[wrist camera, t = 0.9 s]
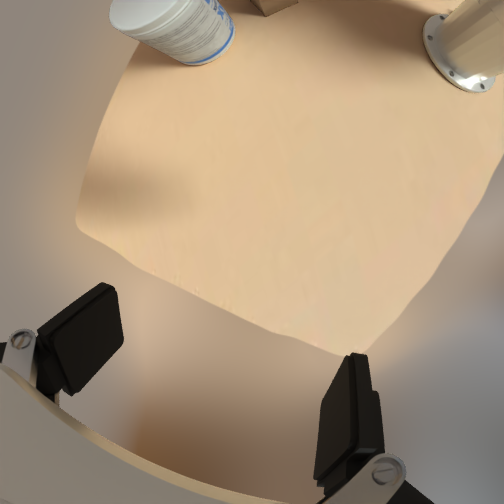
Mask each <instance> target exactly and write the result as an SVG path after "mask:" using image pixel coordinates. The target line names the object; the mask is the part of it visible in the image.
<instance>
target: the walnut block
mask: <svg viewBox="0 0 504 504" xmlns="http://www.w3.org/2000/svg"><path fill="white" fill-rule="evenodd" d="M250 1H251V2H252V3H253V4H254V5H255V6H256V7H257V8H258V9H259V10H260V11H261V12H262V13H263V14H264V15H265V16H266V17H267V16H269V15H271V14H274V13H276V12H278V11H280V10H282V9H284V8H287V7H289V6H291V5H293V4H296V3H298V0H250Z"/></svg>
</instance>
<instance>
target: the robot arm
mask: <svg viewBox="0 0 504 504" xmlns="http://www.w3.org/2000/svg"><path fill="white" fill-rule="evenodd" d="M423 41H424V45H425V48H426V50H427V53H428V55H429V56H430V58H431V60H432V62H433V63H434V64H435V66H436V67H437V69H438V70H439V71H440V72H441V73H442V74H443V75H444V76H445V77H446V78H447V79H448V80H449V81H450V82H451V83H453V84H454V85H455V86H457V87H459V88H460V89H462V90H465V91H467V92H470V93H482V92H486V91H487V90H489V89H490V88H491V87H492V86H493V84H494V82H495V78H496V76H497V75H500V74H503V73H504V0H464V1H463V2H462V3H461V4H460V5H459V6H458V7H457V8H456V9H455V10H454V11H453V12H452V13H451V14H450V15H447V14H437V15H434V16H432V17H430V18H429V19H428V20H427V22H426V23H425V25H424V28H423ZM37 332H38V336H37V337H36V336H35V333H34V332H33V331H32V330H29V329H20V330H17V331H15V332H14V333H13V334H11V336H10V337H9V339H8V341H7V342H3V343H0V504H290V503H284V502H278V501H273V500H268V499H263V498H257V497H253V496H249V495H245V494H241V493H237V492H233V491H229V490H225V489H222V488H218V487H215V486H212V485H208V484H205V483H202V482H199V481H197V480H194V479H191V478H188V477H185V476H183V475H180V474H178V473H175V472H173V471H170V470H168V469H165V468H163V467H160V466H158V465H156V464H154V463H151V462H150V461H147V460H145V459H143V458H141V457H139V456H137V455H135V454H133V453H131V452H129V451H127V450H125V449H124V448H122V447H120V446H118V445H116V444H114V443H113V442H111V441H109V440H108V439H106V438H104V437H102V436H101V435H99V434H97V433H96V432H94V431H93V430H91V429H90V428H88V427H87V426H85V425H84V424H82V423H81V422H79V421H77V420H76V419H75V418H73V417H72V416H70V415H69V414H68V413H66V412H65V411H64V410H62V409H61V408H60V407H59V391H60V390H61V389H63V391H64V392H66V393H67V394H68V395H70V396H73V395H74V394H75V393H78V392H80V391H81V389H82V388H83V387H84V386H85V385H86V384H87V383H88V382H89V380H91V378H92V377H93V376H94V375H95V374H96V373H97V372H98V371H99V370H100V369H101V367H102V366H103V365H104V364H105V363H106V362H107V361H108V360H109V359H110V358H111V357H112V355H113V354H114V353H115V352H116V351H117V350H118V349H119V348H120V347H121V346H122V344H123V341H124V336H123V330H122V324H121V318H120V311H119V304H118V295H117V292H116V291H115V288H114V287H113V286H111V285H109V284H106V283H103V282H101V283H99V284H98V285H97V286H95V287H94V288H92V289H91V290H89V291H88V292H87V293H85V294H84V295H82V296H81V297H80V298H78V299H77V300H76V301H74V302H73V303H71V304H70V305H69V306H68V307H66V308H65V309H63V310H62V311H61V312H60V313H58V314H57V315H56V316H54V317H53V318H52V319H50V320H49V321H48V322H46V323H45V324H44V325H42V326H41V327H40V328H39V329H37ZM313 478H314V480H317V487H324V495H325V496H324V497H323V498H322V499H321V500H319V501H318V502H317V503H316V504H434V503H433V502H432V501H431V500H429V499H428V498H427V497H425V496H424V495H423V494H422V493H420V492H419V491H418V490H417V489H416V488H414V487H413V486H412V485H411V484H409V483H408V482H407V481H406V480H405V478H406V466H405V464H404V462H403V461H402V460H401V459H400V458H399V457H397V456H396V455H394V454H389V453H385V449H384V435H383V424H382V415H381V406H380V399H379V394H378V392H377V391H373V390H372V385H371V377H370V370H369V363H368V357H367V355H364V354H358V353H351V354H350V356H347V355H346V356H345V358H344V360H343V362H342V364H341V366H340V368H339V370H338V372H337V374H336V376H335V377H334V379H333V381H332V383H331V385H330V387H329V389H328V391H327V393H326V394H325V396H324V398H323V400H322V403H321V409H320V421H319V432H318V442H317V451H316V459H315V468H314V476H313Z"/></svg>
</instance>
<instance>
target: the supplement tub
mask: <svg viewBox="0 0 504 504" xmlns="http://www.w3.org/2000/svg"><path fill="white" fill-rule="evenodd" d="M109 19H110V22H111V24H112V26H113V27H114V28H116V29H117V30H119V31H121V32H122V33H124V34H126V35H128V36H130V37H132V38H134V39H136V40H138V41H141V42H143V43H145V44H147V45H149V46H151V47H153V48H155V49H157V50H159V51H161V52H163V53H165V54H167V55H168V56H170V57H172V58H174V59H176V60H178V61H179V62H181V63H184V64H188V65H202V64H206V63H209V62H211V61H214V60H216V59H217V58H219V57H220V56H221V55H223V54H224V53H225V52H226V51H227V50H228V49H229V47H230V46H231V44H232V42H233V40H234V37H235V25H234V22H233V20H232V19H231V17H230V16H229V15H228V13H227V12H226V11H225V9H224V8H223V7H222V6H221V4H220V3H219V2H218V1H217V0H113V1H112V4H111V6H110V11H109Z"/></svg>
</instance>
